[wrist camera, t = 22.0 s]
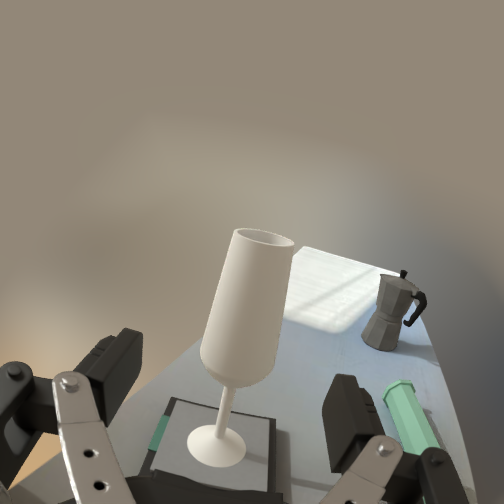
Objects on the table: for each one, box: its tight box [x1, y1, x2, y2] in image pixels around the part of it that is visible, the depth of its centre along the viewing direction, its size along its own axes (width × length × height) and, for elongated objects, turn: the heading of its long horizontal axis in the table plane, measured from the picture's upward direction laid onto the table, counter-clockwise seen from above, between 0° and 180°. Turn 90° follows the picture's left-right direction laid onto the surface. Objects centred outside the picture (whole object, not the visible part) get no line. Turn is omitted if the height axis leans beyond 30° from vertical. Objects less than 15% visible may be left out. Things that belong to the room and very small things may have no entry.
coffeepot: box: [361, 270, 427, 351], centre depth 66 cm, size 15×9×18 cm, turn 21°
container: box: [382, 379, 441, 504], centre depth 33 cm, size 6×6×25 cm
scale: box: [138, 397, 276, 493], centre depth 31 cm, size 14×14×2 cm
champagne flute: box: [187, 228, 294, 467], centre depth 28 cm, size 7×7×24 cm
